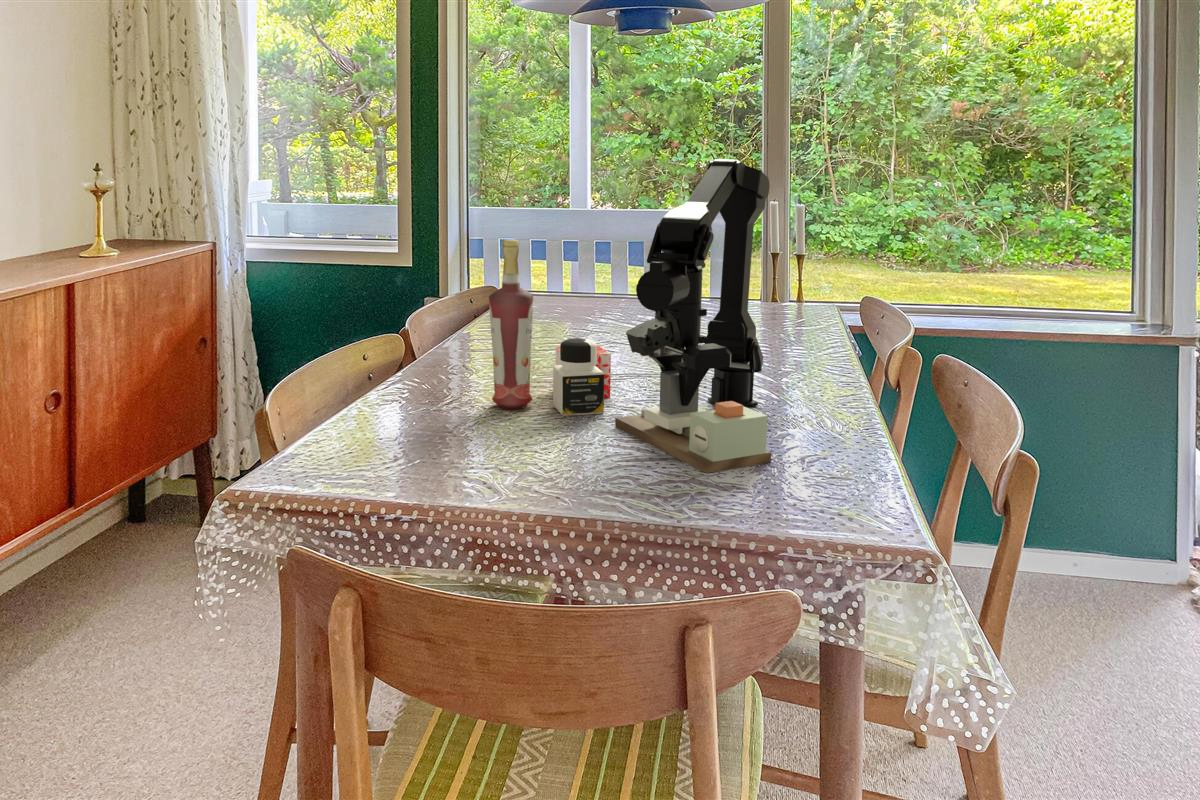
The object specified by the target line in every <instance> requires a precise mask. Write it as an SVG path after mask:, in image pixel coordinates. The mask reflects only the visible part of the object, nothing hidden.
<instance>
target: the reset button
mask: <svg viewBox="0 0 1200 800" xmlns="http://www.w3.org/2000/svg"><path fill="white" fill-rule="evenodd" d="M714 408H715V409H714V410H715V414H716V415H718V416H721V417H723V418H725V419H727V418H734V417H741V416H743V405H741V404H739V403H736V402H734V401H727V402H719V403H715V407H714Z"/></svg>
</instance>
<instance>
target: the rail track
mask: <svg viewBox="0 0 1200 800" xmlns="http://www.w3.org/2000/svg"><path fill="white" fill-rule="evenodd" d="M614 424H615V425H614V427H615V428H617V429H618V430H620V431H622V432H623V433H626V434H628V435H631V436H632V437H634V438H636V439H638V440H640V441H642V442H643V443H646V444H648V445H650V446H651V447H654V448H656V449H658V450H660V451H662V452H664V453H666V454H668V455H670V456H671V457H674V458H676V459H678V460H680V461H682V462H684V463H686V464H688V465H690V466H692V467H693V468H696V469H698V470H699V471H701V472H704V473H705V474H709V473H714V472H715V473H716V472H721V471H722V472H723V471H728V470H734V469H740V468H746V467H752V466H757V465H762V464H763V465H764V464H768V463H772V451H770V450H767V449H766V453H764V454H758V455H751V456H745V457H739V458H733V459H727V460H721V461H714V462H712V461H710V460H708V459H706V458H704V457H702V456H700V455H698V454H696V453H694V452H692V451H690V450H689V442H690V427H684V428H682V434H678V433H676V432H674V431H671V430H668V429H666V428H663V427H661V426H659V425H657V424H655V423H653V422H651V421H649V420H646V419H644V408H641V413H640V414H635V415H634V414H632V415H627V416H619V417H615V420H614Z"/></svg>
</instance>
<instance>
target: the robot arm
mask: <svg viewBox="0 0 1200 800" xmlns="http://www.w3.org/2000/svg"><path fill="white" fill-rule="evenodd" d="M770 188H771V187H770V179H769V177H768V176H767V175H766V174H765V173H764V172H763V170H761V169H757V168H755V167H752V166H749V165H746V164H744V163H743V161H739V160H738V159H714V160H710V161H709V163H708V165H707V170H706V173H705V174H704V176H703V177H702V178H701V180H700V181H699V183H698V184H697V186H696V187H695V189H694V190H693V191H692V193H691V194H690V196H689V197H688V199H687V200H686V201H685V203H683V204H682V205H679V206H677V207H673V208H671V209H670V210H669V211H668V212H667V213H666V214H665V215H664V216H663V217H662V218H661V219H660V222H659V223H658V224H657V226H656V229H655V232H654V235H653V238H652V241H651V245H650V248H649V251H648V255H647V258H646V263H647V264H649V270H648V271H646V272H644V273H643V274H642V275H641V276H640V278H639V279H638V281H637V284H636V287H635V292H636V297H637V300H638V301H639V303H640V304H641V306H643V308H645V309H647V310H648V311H651V312H654V314H655V315H654V318H652V319H650V320H646V321H644V322H641V323H640V324H638V325H636V326H634V327H632V328H630V329H628V330H626V331H625V334H626V338H627V340H628V343H629V347H630V350H631V352H632V353H633V354H634V353H636V354H639V355H640V356H642V357H648V358H651V359H652V360H653V361H654V363H656V364H657V365H658V366H659V369H660V372H664V371H673V370H677V371H678V373H679V384H680V398H681V405H682V406H688V405H689V403H690V402H691V400H692V398H693V396H694V394H695V392H696V390H697V388H698V386H699V387H700V385H701V383H702V381H703V379H704V378H705V376H706V374H707V373H708V371H709V370H712V369H713V377H712V378H711V391H710V393H711V395H710V397H708V398H707V401H708V402H710V403H712V404H715V403H719V402H727V401H734V402H736V403H739V404H741V405H743V406H744V407H746V408H747V407H751V406H758V405H759V401H757V400H754V382H755V381H754V380H755V379H754V378H755V373H762V369H763V364H764V362H763V359H764V355H763V352H762V350H761V346H760V344H759V341H758V339H757V327H756V325H755V322H754V321H753V318H752V317H751V315H750V312H749V297H750V296H749V295H750V283H751V268H752V253H753V242H754V241H753V238H754V227H755V223H756V222H757V220H758V219H759V217H760V216H761V215H762V213H763V211H764V210H765V207H766V201H767V198H768V197H769V194H770ZM718 214H720V215H721V217H722V219H723V221H724V238H723V251H722V266H721V284H720V298H719V300H720V301H719V302H720V303H719V310H718V311H717V314H716V315H715V316H714V317H713V319H712V320H709V322H708V324H707V334H706V336H705V335H702V334H701V326H702V325H701V324H702V323H701V322H702V320H701V319H702V317H706V316H707V315H708V308H704V307H702V297H703V295H702V294H703V290H702V289H703V269H704V268H705V267H706V262H705V261H706V259H707V256H708V254H709V252H710V248H711V246H712V244H713V241H714V233H713V228H712V225H713V222H714V221H715V220H716V217H717V216H718Z"/></svg>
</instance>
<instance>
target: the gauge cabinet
mask: <svg viewBox="0 0 1200 800" xmlns="http://www.w3.org/2000/svg"><path fill="white" fill-rule="evenodd" d="M768 419H769V418H768V415H766V414H764V413H762V412H759V411H756V410H755V409H752V408H749V407H747V406H746V407H744V406H743V416H741V417H734V418H727V419H725V418H723V417H721V416H718V415H716V414H715V409H711V410H710V409H709V410H707V411H702V412H695V413H690V442H689V450H690V451H692V452H694V453H696V454H698V455H700V456H702V457H704V458H706V459H708V460H710V461H712V462H714V461H721V460H727V459H733V458H739V457H745V456H751V455H758V454H764V453H766V450H767V435H768Z"/></svg>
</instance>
